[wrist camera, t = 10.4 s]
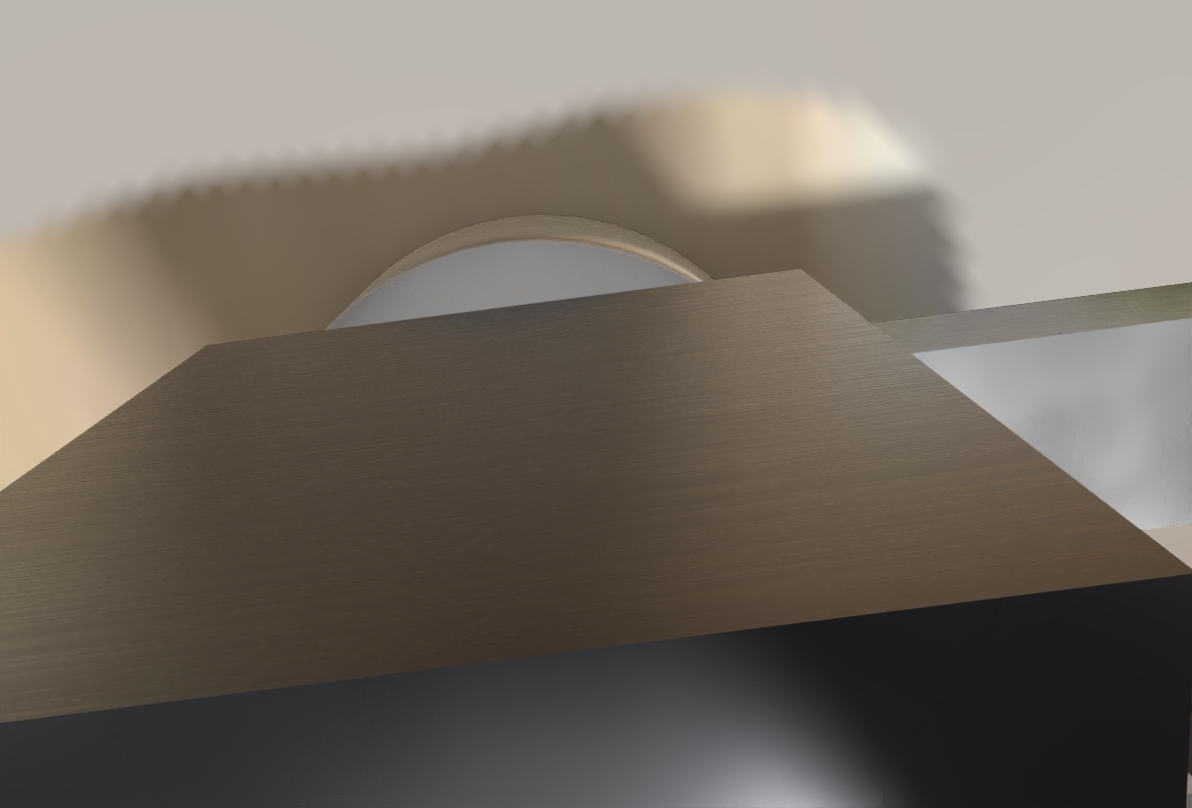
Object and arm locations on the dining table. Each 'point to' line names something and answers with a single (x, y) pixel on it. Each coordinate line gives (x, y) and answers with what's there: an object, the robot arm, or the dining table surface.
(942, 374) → the ratchet
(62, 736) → the dark grey cube
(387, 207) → the dining table surface
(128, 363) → the dining table surface
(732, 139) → the dining table surface
